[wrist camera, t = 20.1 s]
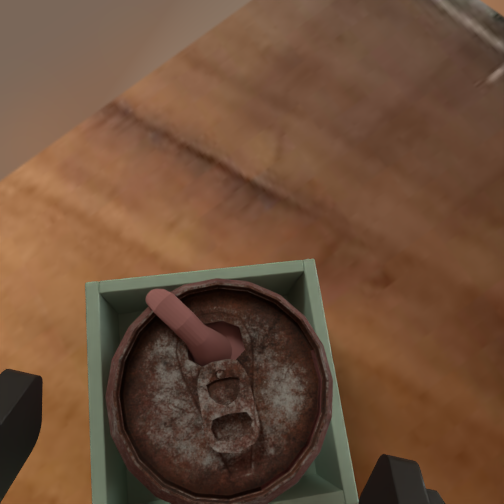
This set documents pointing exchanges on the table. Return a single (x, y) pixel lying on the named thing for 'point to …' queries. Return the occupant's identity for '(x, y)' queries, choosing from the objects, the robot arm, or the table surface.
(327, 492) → the green tray box
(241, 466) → the can
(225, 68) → the table surface
